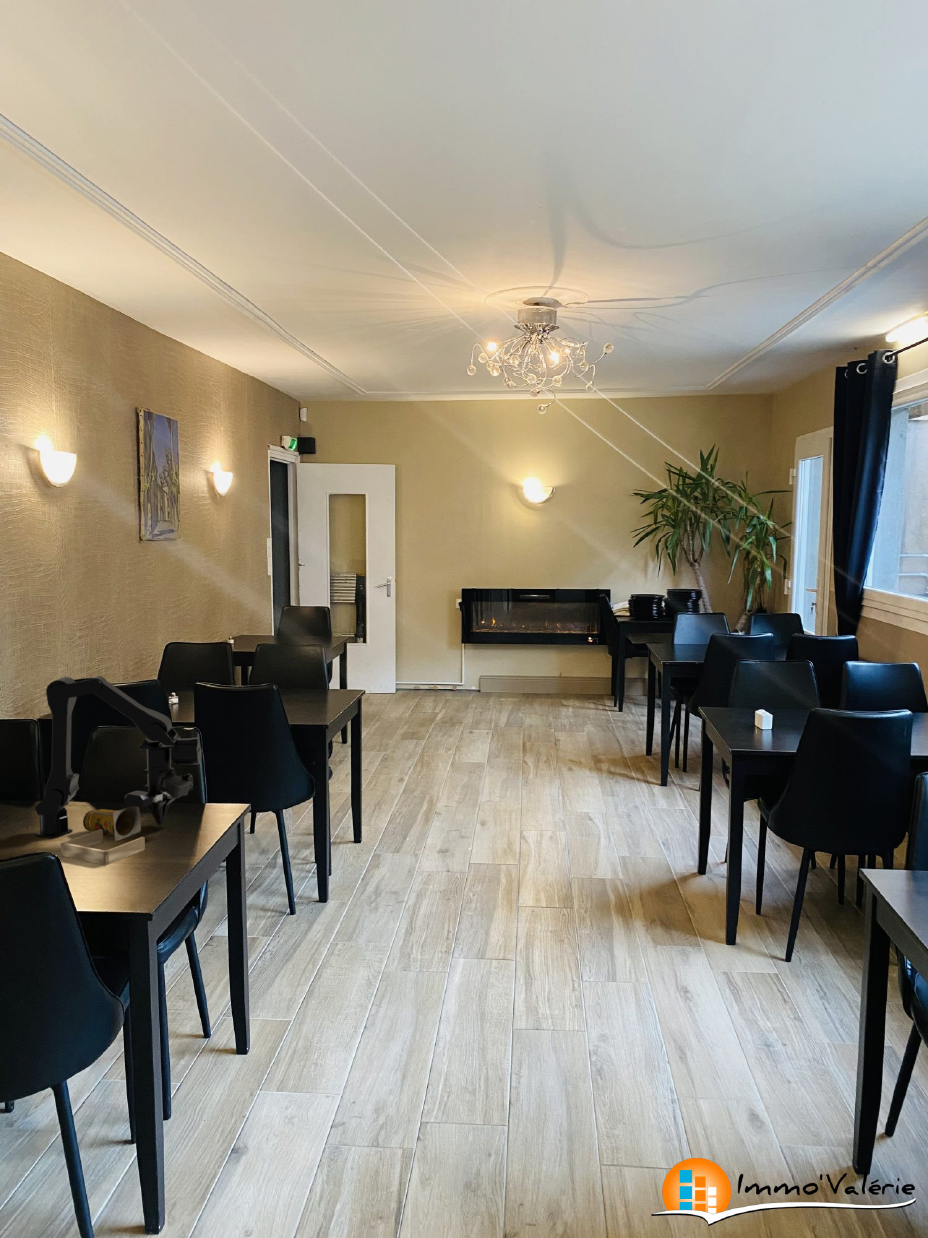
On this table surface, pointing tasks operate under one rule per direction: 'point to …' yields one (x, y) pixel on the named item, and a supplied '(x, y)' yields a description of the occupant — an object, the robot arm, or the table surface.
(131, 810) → the condiment
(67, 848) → the wooden bracket
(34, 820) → the table surface
